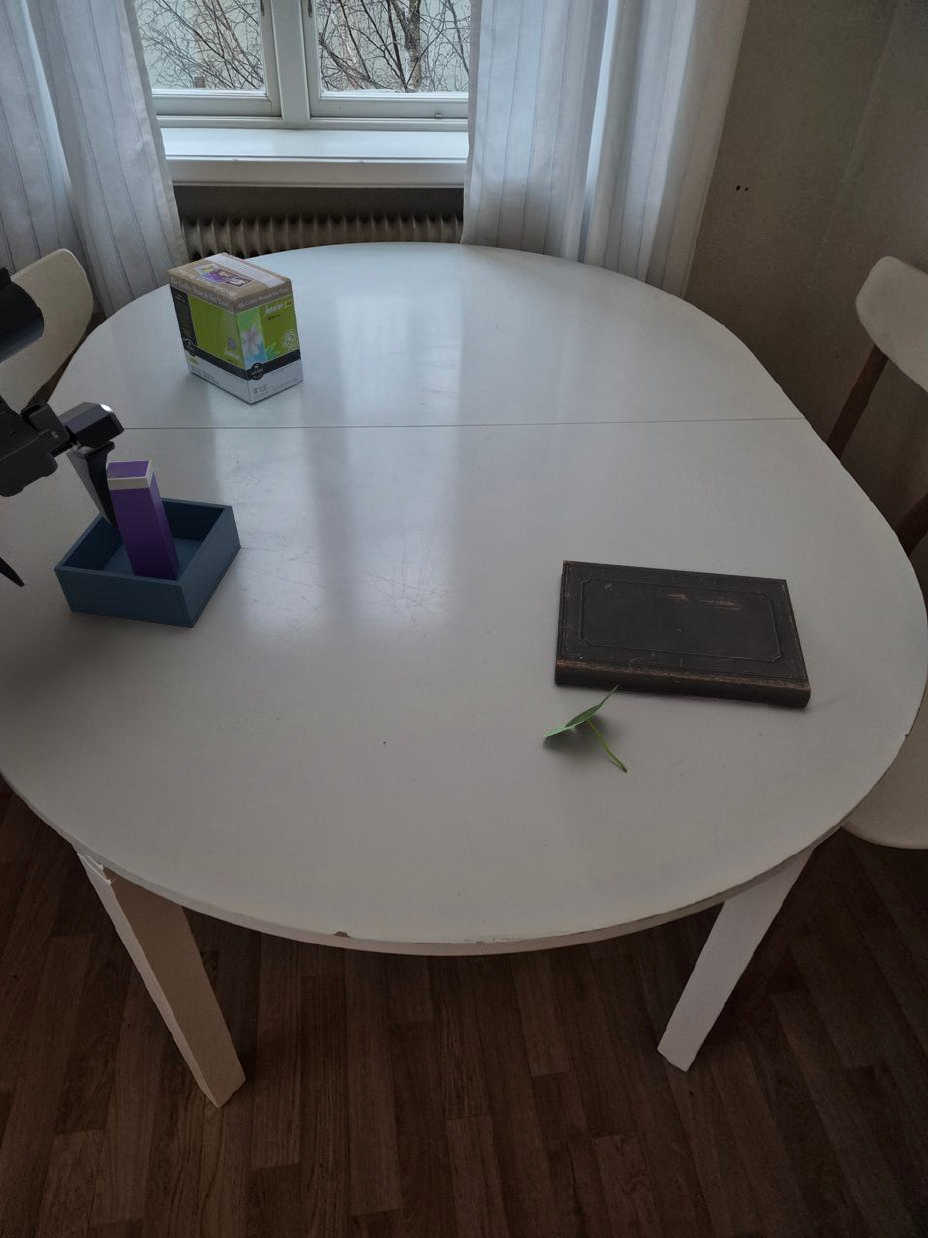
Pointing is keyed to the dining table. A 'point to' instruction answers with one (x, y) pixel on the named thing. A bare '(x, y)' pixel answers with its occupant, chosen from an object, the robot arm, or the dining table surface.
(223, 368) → the tea box
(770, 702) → the hardcover book
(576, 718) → the seedling
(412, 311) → the dining table surface
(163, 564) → the purple white-banded prism
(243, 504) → the dining table surface
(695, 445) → the dining table surface
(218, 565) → the open blue box
